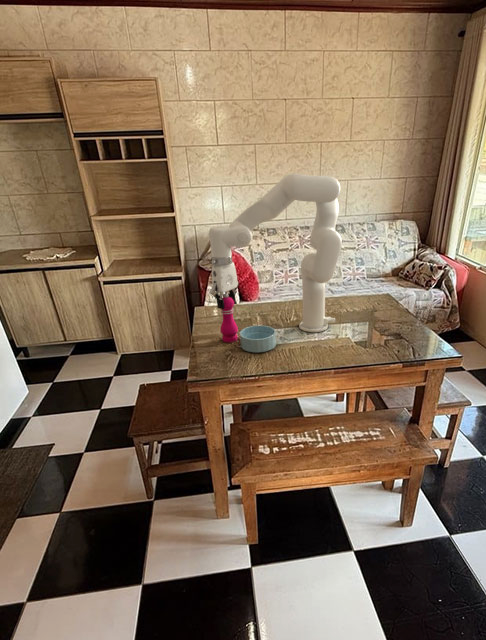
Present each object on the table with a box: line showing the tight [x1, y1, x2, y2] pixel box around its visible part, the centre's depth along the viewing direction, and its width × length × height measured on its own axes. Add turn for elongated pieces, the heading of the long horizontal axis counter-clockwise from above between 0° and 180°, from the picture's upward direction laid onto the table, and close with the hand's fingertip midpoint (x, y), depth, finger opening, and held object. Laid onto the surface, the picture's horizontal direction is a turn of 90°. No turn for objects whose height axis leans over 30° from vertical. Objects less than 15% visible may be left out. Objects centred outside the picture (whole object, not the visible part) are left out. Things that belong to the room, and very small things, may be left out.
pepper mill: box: [220, 292, 239, 344], centre depth 166 cm, size 7×7×20 cm
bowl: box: [239, 324, 277, 354], centre depth 163 cm, size 14×14×6 cm
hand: (226, 305), depth 163 cm, fingers closed on pepper mill, 6 cm apart
